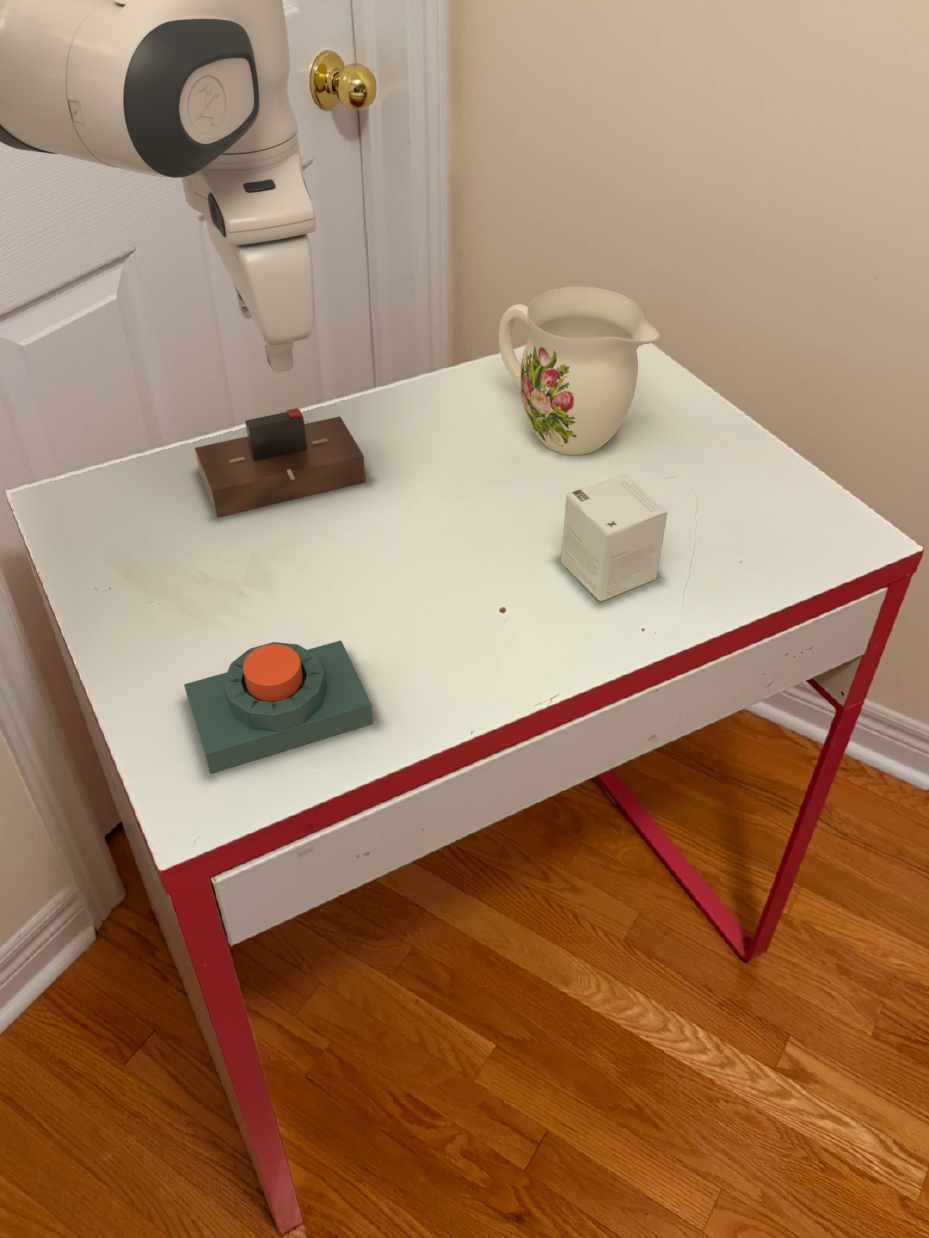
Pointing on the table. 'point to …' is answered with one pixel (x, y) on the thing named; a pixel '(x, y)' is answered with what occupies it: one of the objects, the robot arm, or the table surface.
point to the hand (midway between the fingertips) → (265, 339)
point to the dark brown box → (276, 434)
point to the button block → (277, 708)
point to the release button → (272, 672)
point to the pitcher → (576, 364)
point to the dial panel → (280, 469)
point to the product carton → (612, 536)
